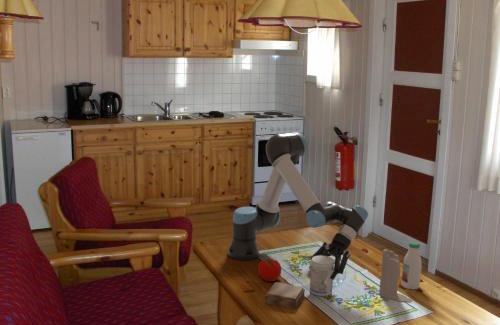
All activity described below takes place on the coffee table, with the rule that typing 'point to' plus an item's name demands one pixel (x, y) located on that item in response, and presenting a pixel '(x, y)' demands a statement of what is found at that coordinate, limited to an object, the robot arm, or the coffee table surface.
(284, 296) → the plinth
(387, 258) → the beige bookend
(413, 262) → the milk bottle
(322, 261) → the supplement tub
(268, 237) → the coffee table surface
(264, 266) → the tomato
